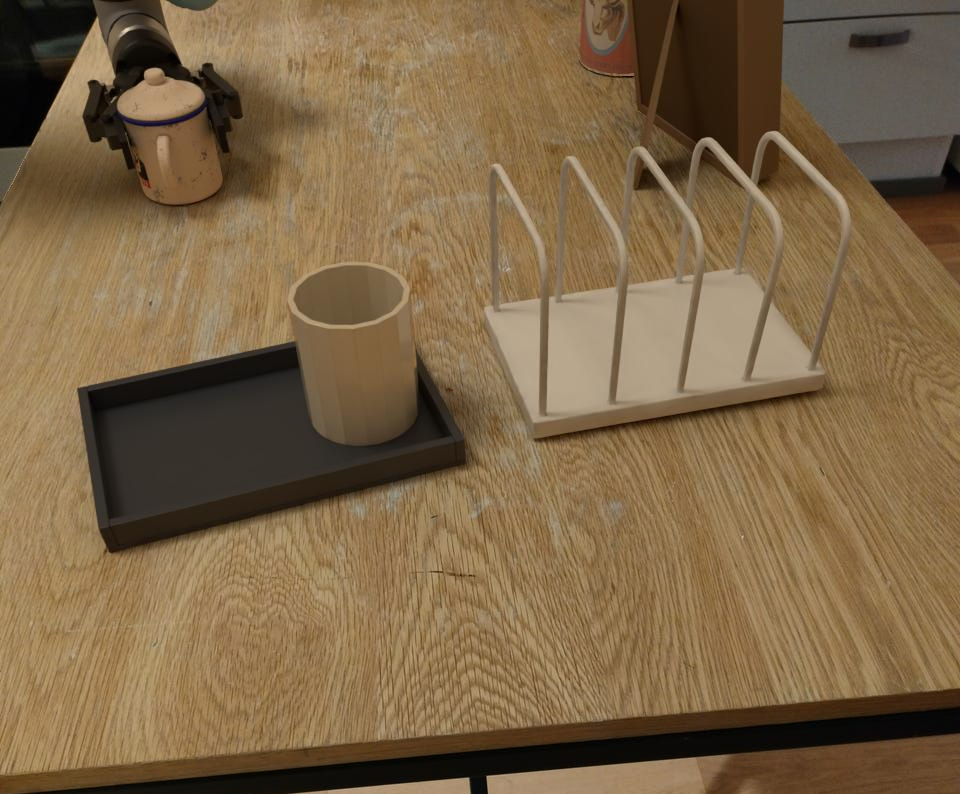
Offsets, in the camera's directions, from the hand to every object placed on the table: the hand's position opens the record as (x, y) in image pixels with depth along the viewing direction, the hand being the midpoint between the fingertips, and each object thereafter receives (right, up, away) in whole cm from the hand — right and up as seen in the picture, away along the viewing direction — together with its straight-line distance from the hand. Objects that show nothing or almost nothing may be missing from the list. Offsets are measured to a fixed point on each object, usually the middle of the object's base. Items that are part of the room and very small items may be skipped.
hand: (176, 147), depth 96 cm
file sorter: (+45, -25, -12) cm, 53 cm away
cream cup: (+21, -31, -17) cm, 41 cm away
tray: (+13, -33, -18) cm, 40 cm away
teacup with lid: (-2, -1, +8) cm, 8 cm away
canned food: (+49, +26, +29) cm, 63 cm away
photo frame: (+51, +5, +12) cm, 53 cm away
